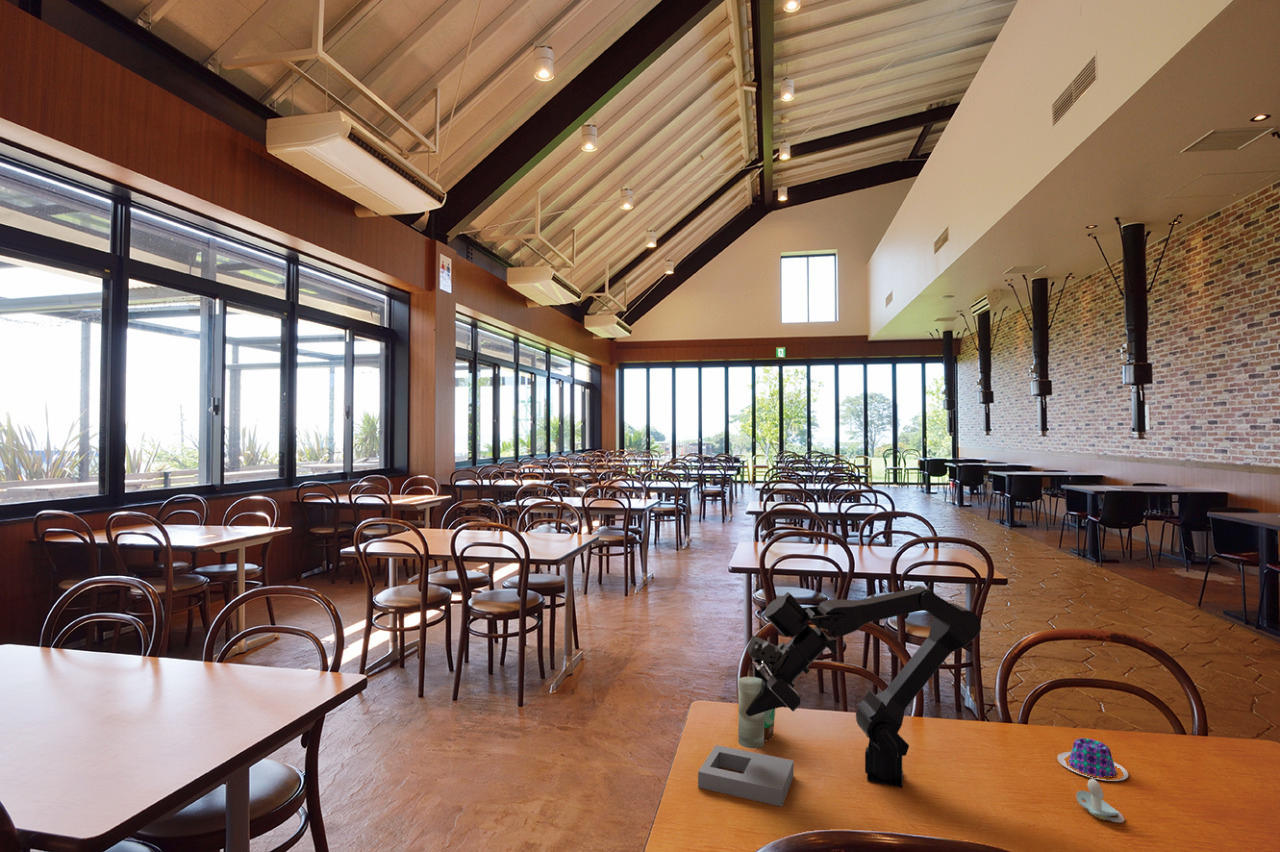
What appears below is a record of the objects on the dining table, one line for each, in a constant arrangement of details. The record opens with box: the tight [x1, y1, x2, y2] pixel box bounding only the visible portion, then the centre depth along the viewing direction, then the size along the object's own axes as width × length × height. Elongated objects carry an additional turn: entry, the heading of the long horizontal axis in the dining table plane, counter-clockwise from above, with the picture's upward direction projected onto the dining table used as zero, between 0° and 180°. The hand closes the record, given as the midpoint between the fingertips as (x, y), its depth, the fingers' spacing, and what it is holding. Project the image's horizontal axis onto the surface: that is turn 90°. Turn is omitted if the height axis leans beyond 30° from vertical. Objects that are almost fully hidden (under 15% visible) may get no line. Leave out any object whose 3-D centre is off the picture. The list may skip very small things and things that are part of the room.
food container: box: [764, 708, 776, 742], centre depth 147 cm, size 12×6×10 cm, turn 168°
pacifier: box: [1075, 778, 1125, 824], centre depth 117 cm, size 7×6×6 cm
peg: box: [737, 676, 765, 750], centre depth 128 cm, size 5×5×12 cm
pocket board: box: [697, 744, 795, 808], centre depth 126 cm, size 16×12×3 cm
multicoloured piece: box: [1057, 737, 1129, 782], centre depth 134 cm, size 12×12×5 cm
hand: (744, 708), depth 128 cm, fingers closed on peg, 5 cm apart
